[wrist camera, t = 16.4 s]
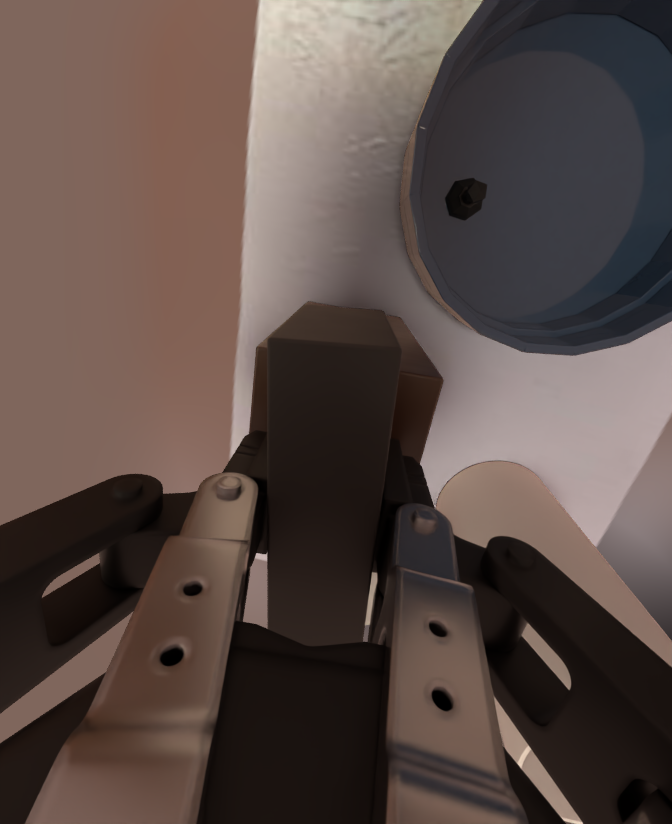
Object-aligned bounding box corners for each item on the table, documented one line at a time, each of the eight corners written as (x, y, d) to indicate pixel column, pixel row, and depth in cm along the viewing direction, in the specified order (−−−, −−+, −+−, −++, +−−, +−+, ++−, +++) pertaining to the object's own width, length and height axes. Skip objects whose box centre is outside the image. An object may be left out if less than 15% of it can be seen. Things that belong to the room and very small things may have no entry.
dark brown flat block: (303, 303, 11) (266, 337, 7) (384, 310, 11) (403, 347, 7) (293, 582, 15) (267, 721, 11) (352, 587, 15) (351, 729, 11)
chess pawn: (437, 193, 21) (450, 184, 18) (472, 168, 20) (490, 154, 18) (455, 227, 21) (470, 222, 19) (489, 203, 21) (509, 194, 18)
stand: (307, 301, 24) (255, 346, 12) (401, 317, 24) (444, 378, 12) (295, 390, 26) (242, 503, 14) (381, 404, 26) (401, 530, 14)
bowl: (573, -103, 17) (655, -240, 12) (770, 163, 20) (894, 136, 15) (341, 214, 22) (337, 203, 17) (528, 385, 25) (566, 414, 21)
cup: (498, 566, 31) (625, 848, 16) (414, 521, 30) (470, 782, 15) (571, 494, 28) (808, 759, 13) (482, 441, 27) (633, 668, 12)
